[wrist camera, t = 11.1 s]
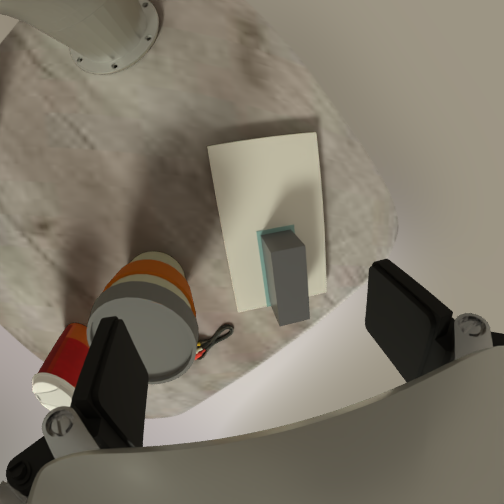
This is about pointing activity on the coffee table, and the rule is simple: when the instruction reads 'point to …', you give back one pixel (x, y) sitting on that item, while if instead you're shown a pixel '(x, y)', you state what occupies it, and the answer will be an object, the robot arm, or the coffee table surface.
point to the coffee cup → (62, 368)
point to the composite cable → (211, 341)
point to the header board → (268, 207)
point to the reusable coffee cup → (152, 314)
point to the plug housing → (286, 276)
